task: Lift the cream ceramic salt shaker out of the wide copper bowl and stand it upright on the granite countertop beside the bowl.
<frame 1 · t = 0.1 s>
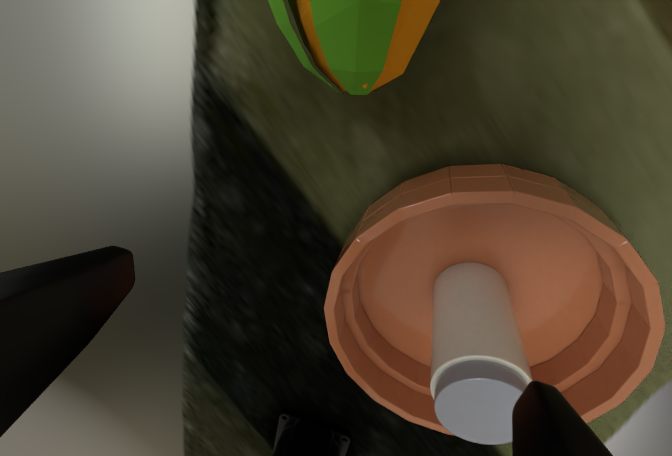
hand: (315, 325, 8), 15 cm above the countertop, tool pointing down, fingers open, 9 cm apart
bowl: (468, 286, 24), on the countertop
shaker: (469, 292, 23), point 1 cm above the countertop, touching bowl
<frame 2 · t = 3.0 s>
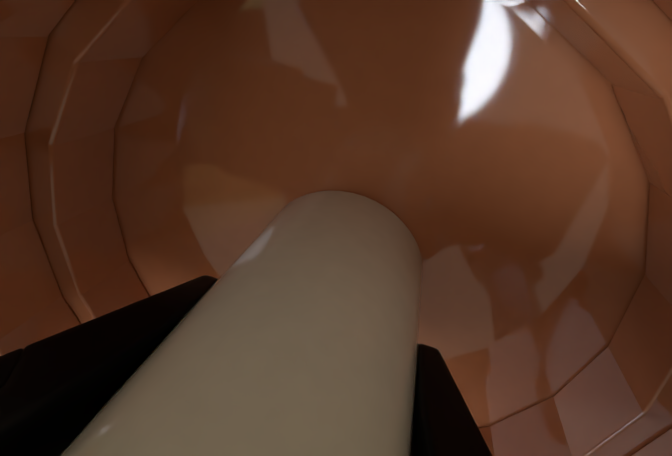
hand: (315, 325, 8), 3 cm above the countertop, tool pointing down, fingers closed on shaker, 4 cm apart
bowl: (345, 253, 11), on the countertop
shaker: (340, 265, 10), point 1 cm above the countertop, touching bowl, gripper
when the fingers open (2 cm above the countertop, at t = 7.9 s): shaker stays where it is, on the countertop.
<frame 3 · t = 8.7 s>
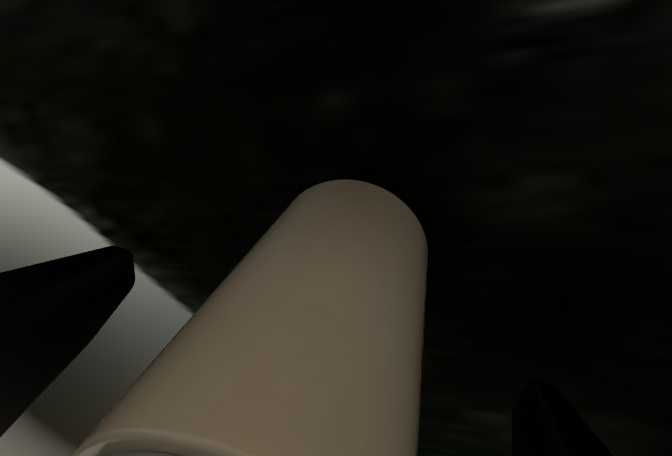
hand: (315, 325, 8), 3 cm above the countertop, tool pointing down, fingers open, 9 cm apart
shaker: (350, 249, 11), on the countertop
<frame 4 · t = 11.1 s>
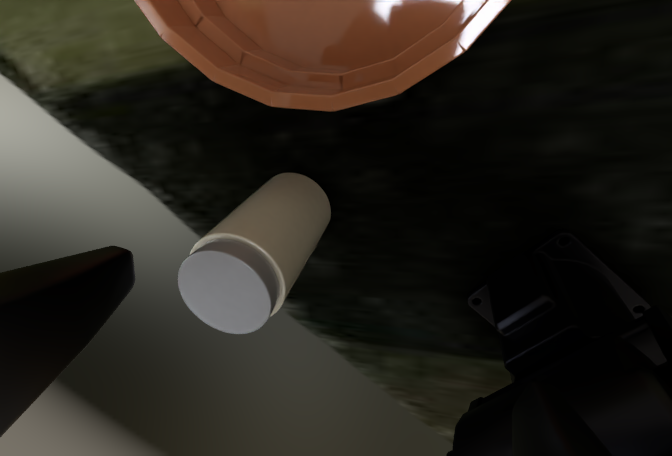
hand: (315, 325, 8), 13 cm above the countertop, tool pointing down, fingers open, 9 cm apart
shaker: (294, 208, 22), on the countertop
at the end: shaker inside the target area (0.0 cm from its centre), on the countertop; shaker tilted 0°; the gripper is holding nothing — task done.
